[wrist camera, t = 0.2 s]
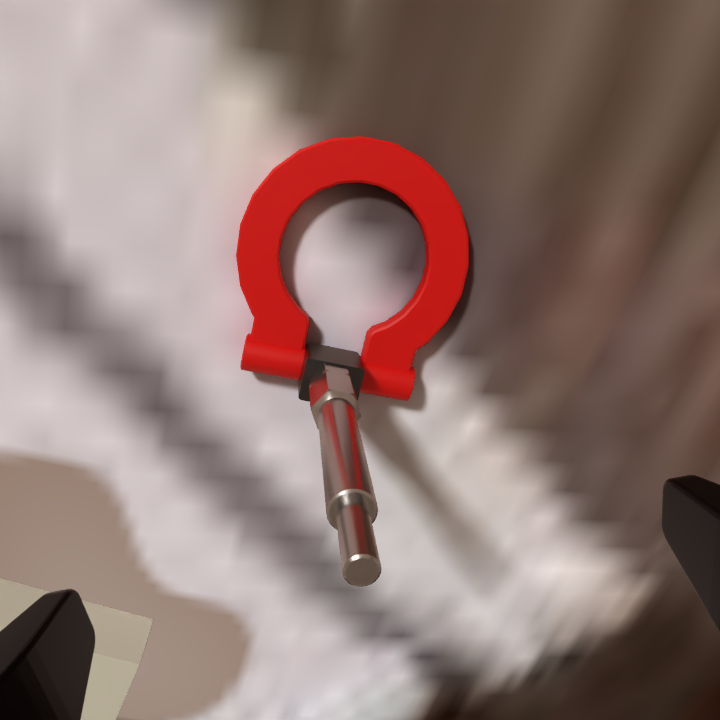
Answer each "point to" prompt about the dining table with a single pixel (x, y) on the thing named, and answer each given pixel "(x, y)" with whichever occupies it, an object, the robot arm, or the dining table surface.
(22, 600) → the hole board
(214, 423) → the dining table surface
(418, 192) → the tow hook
